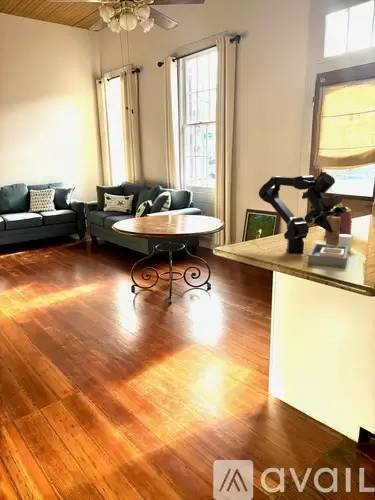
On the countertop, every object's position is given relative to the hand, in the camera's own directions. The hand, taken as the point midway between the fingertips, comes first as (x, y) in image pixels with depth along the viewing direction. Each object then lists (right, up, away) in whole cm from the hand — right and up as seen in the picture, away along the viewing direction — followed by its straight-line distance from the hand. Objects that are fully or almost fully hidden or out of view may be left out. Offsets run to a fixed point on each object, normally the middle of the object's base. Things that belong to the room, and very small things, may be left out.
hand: (336, 231), depth 146 cm
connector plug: (-1, -6, +3) cm, 7 cm away
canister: (+21, 0, +50) cm, 55 cm away
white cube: (+13, -8, +24) cm, 28 cm away
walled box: (+1, -11, +9) cm, 15 cm away
